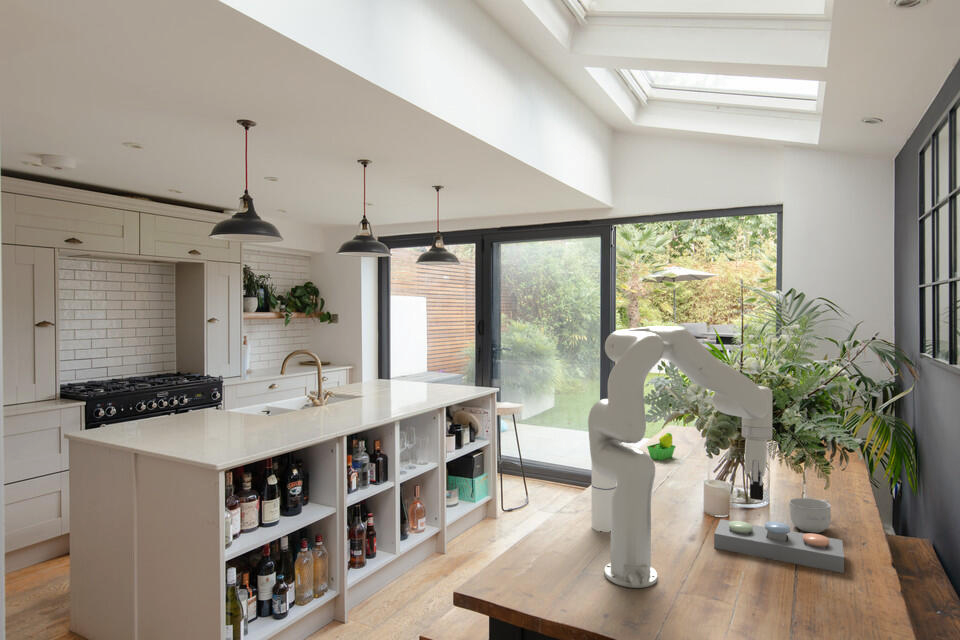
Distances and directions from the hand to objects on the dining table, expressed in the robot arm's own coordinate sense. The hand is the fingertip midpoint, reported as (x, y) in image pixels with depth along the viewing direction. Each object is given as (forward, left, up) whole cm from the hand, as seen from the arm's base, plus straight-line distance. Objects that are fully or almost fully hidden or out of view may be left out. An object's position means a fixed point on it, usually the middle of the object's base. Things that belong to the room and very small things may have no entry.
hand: (756, 498), depth 158 cm
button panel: (-3, -4, -13) cm, 14 cm away
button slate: (-3, -4, -10) cm, 12 cm away
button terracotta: (-7, -12, -12) cm, 18 cm away
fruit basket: (+92, -3, -14) cm, 93 cm away
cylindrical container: (+14, +39, -14) cm, 43 cm away
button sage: (+2, +4, -12) cm, 13 cm away
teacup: (+13, -23, -14) cm, 30 cm away
